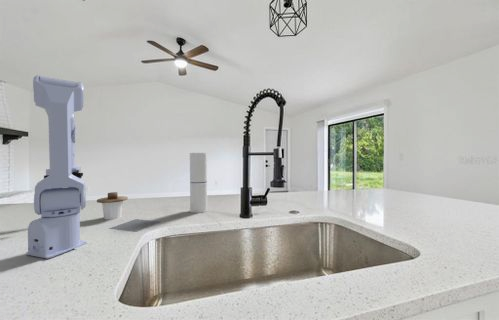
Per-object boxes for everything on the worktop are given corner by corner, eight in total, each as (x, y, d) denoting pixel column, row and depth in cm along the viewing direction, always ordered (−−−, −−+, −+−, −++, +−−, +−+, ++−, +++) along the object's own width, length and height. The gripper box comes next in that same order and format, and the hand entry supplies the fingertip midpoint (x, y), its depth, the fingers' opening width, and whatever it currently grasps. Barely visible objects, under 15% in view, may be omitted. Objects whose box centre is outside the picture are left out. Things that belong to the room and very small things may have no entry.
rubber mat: (136, 232, 67) (136, 231, 67) (109, 229, 71) (109, 228, 71) (160, 222, 78) (160, 221, 78) (136, 220, 81) (136, 219, 81)
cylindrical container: (186, 212, 92) (186, 152, 92) (195, 208, 99) (195, 153, 98) (202, 213, 90) (201, 152, 90) (210, 209, 97) (209, 153, 96)
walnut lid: (110, 203, 77) (110, 195, 77) (90, 202, 80) (89, 194, 80) (133, 198, 87) (133, 191, 87) (114, 197, 90) (114, 190, 90)
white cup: (98, 219, 82) (97, 201, 82) (116, 215, 88) (116, 197, 88) (108, 222, 79) (108, 202, 79) (127, 217, 85) (126, 199, 85)
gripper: (63, 155, 70) (63, 197, 71) (89, 155, 85) (89, 190, 85) (38, 155, 69) (38, 198, 69) (68, 155, 84) (69, 191, 84)
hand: (65, 194), depth 77 cm, fingers open, 7 cm apart
